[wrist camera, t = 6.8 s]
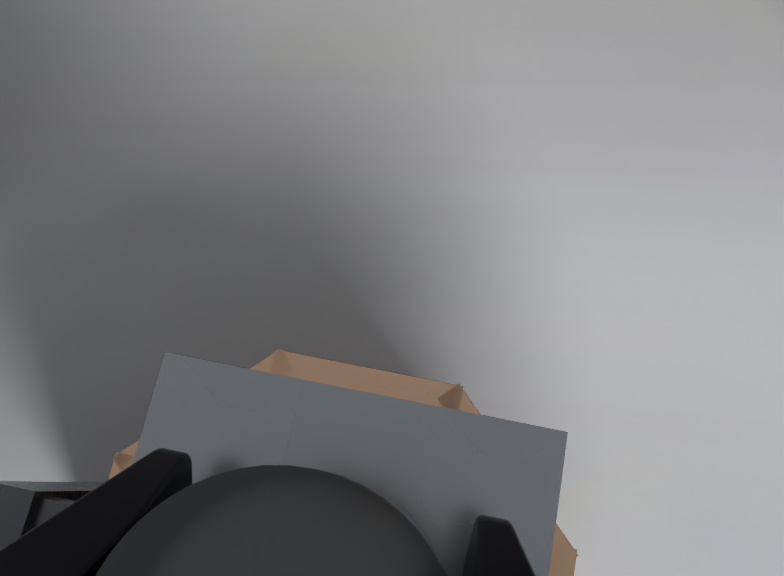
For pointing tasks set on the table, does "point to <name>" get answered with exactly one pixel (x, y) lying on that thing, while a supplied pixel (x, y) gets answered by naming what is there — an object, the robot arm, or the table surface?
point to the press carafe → (345, 448)
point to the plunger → (275, 530)
